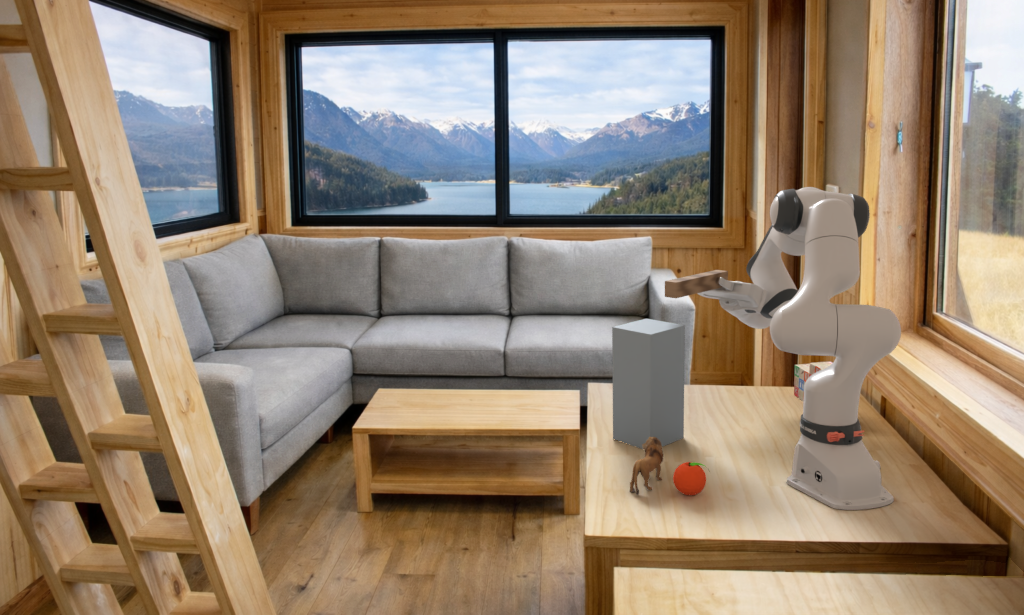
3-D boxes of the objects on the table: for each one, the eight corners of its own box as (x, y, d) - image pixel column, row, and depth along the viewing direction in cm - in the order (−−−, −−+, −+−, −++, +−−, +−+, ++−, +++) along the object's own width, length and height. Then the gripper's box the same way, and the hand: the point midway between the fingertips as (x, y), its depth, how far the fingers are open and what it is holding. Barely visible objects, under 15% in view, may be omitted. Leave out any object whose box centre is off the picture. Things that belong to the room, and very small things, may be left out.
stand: (646, 426, 221) (646, 318, 215) (683, 437, 212) (684, 325, 207) (612, 439, 213) (612, 327, 207) (650, 451, 204) (650, 334, 198)
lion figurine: (643, 470, 193) (643, 433, 191) (666, 473, 191) (666, 435, 189) (626, 495, 180) (626, 455, 178) (650, 499, 178) (650, 458, 176)
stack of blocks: (793, 395, 244) (794, 354, 241) (813, 394, 245) (815, 352, 242) (828, 419, 223) (831, 374, 221) (851, 417, 224) (853, 373, 221)
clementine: (703, 485, 184) (704, 454, 182) (716, 498, 177) (716, 466, 175) (668, 489, 182) (668, 457, 181) (679, 502, 176) (679, 470, 174)
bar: (716, 284, 227) (716, 269, 226) (727, 285, 224) (727, 271, 223) (664, 296, 212) (664, 281, 212) (675, 298, 210) (676, 282, 209)
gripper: (708, 283, 239) (682, 264, 230) (772, 291, 224) (747, 271, 215) (701, 303, 238) (674, 285, 229) (765, 313, 223) (739, 294, 214)
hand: (710, 278), depth 221 cm, fingers closed on bar, 3 cm apart
